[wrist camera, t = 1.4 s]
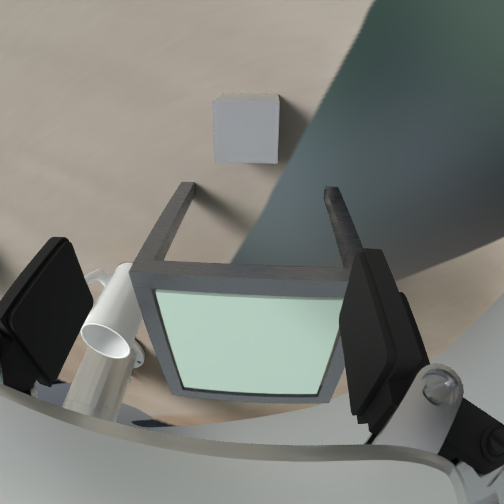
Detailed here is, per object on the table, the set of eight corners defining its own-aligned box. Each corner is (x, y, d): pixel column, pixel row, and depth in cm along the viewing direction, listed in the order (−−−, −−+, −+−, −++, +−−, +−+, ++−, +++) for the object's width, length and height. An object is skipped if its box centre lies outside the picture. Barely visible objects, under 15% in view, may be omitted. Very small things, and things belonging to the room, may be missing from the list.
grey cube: (276, 144, 31) (277, 163, 27) (224, 144, 32) (214, 162, 27) (278, 94, 28) (279, 102, 23) (223, 93, 29) (212, 102, 24)
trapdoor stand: (318, 303, 44) (328, 402, 31) (196, 298, 45) (172, 394, 32) (337, 187, 34) (375, 282, 21) (181, 182, 34) (128, 271, 21)
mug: (164, 282, 44) (140, 348, 34) (140, 302, 46) (115, 364, 37) (110, 237, 40) (70, 297, 30) (90, 262, 42) (53, 320, 33)
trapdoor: (316, 386, 31) (316, 393, 30) (185, 379, 31) (184, 386, 31) (344, 291, 23) (346, 300, 22) (159, 283, 23) (155, 291, 22)
